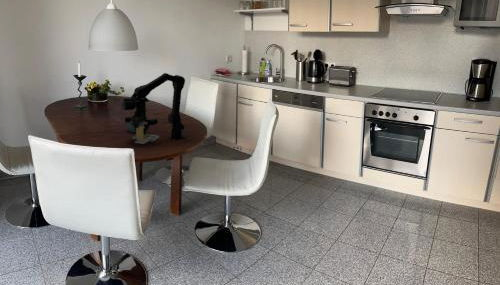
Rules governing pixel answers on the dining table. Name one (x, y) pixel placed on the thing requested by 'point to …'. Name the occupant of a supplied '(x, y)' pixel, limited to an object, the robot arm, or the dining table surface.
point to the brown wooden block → (140, 133)
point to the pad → (141, 141)
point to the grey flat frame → (151, 138)
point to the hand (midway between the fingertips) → (141, 134)
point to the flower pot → (131, 127)
